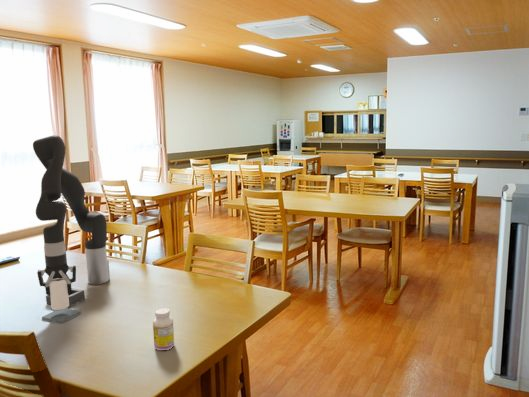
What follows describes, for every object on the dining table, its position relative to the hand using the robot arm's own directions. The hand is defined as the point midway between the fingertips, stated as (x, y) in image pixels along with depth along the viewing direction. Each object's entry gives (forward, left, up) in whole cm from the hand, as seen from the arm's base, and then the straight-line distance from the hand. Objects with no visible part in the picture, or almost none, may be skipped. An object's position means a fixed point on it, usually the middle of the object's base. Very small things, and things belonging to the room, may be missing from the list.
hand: (59, 293), depth 181 cm
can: (0, 0, -6) cm, 6 cm away
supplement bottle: (+7, +53, -9) cm, 54 cm away
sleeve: (-12, -10, -9) cm, 18 cm away
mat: (0, 0, -9) cm, 9 cm away
